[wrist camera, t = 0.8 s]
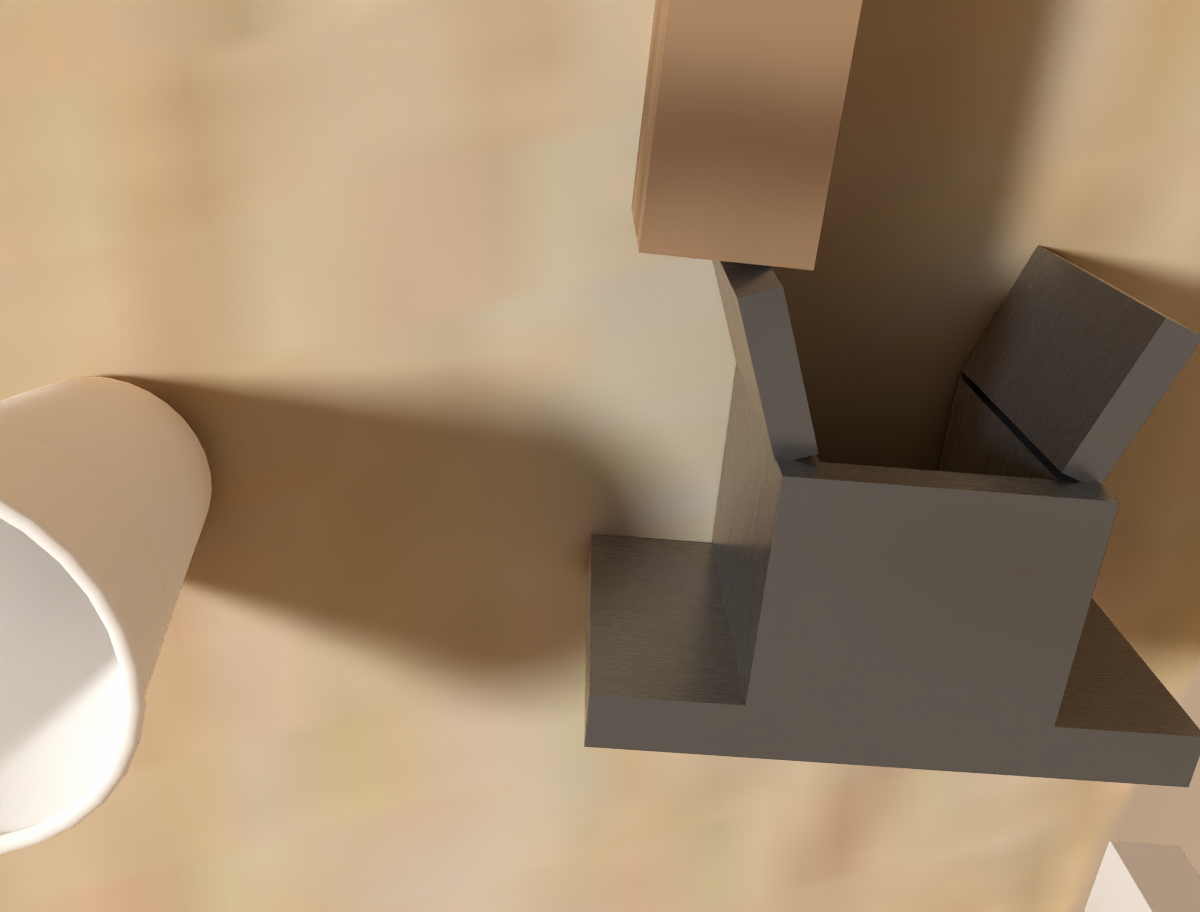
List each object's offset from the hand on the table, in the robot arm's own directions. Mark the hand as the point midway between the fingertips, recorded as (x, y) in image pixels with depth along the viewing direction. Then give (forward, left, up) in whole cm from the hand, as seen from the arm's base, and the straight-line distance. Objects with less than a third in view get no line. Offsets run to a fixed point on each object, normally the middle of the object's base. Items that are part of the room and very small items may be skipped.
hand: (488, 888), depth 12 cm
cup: (+5, -13, -22) cm, 26 cm away
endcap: (+2, +9, -21) cm, 23 cm away
